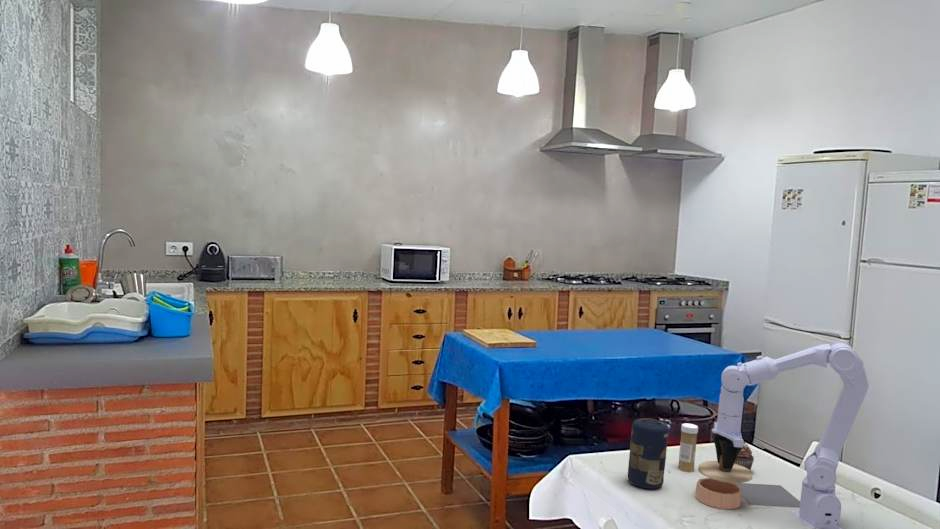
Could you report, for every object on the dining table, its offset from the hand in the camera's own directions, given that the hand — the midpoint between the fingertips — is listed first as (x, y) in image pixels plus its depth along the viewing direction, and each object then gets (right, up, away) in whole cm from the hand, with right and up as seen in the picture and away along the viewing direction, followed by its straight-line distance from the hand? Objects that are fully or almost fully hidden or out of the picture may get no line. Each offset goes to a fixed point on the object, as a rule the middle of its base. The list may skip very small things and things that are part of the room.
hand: (724, 465), depth 182 cm
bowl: (-2, -10, 0) cm, 10 cm away
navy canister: (-18, -8, +10) cm, 22 cm away
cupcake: (+12, -9, +25) cm, 29 cm away
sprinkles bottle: (-3, -8, +22) cm, 24 cm away
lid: (0, -2, 0) cm, 2 cm away
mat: (+13, -10, +7) cm, 18 cm away
